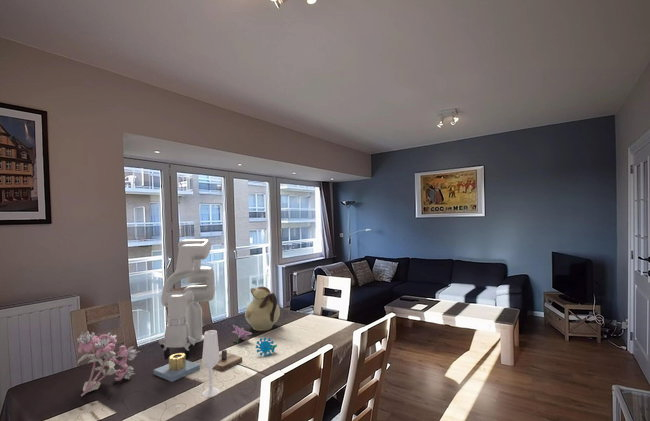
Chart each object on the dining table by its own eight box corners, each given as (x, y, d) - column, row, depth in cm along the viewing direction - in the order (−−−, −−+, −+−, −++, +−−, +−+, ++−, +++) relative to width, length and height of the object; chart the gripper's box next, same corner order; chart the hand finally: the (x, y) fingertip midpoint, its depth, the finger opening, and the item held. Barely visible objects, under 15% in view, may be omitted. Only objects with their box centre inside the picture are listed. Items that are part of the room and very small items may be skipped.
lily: (253, 345, 181) (256, 327, 186) (235, 341, 174) (238, 323, 179) (241, 346, 188) (244, 329, 193) (224, 343, 181) (227, 326, 186)
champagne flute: (202, 398, 124) (202, 335, 125) (201, 390, 130) (201, 330, 131) (220, 394, 126) (220, 333, 127) (218, 386, 133) (218, 328, 134)
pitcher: (252, 321, 220) (252, 285, 221) (285, 322, 217) (285, 285, 217) (239, 333, 198) (239, 292, 198) (276, 334, 194) (276, 293, 195)
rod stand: (205, 365, 153) (205, 352, 153) (225, 356, 163) (225, 344, 164) (222, 371, 147) (222, 357, 147) (242, 361, 157) (242, 348, 157)
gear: (255, 355, 160) (256, 336, 167) (253, 360, 163) (254, 341, 170) (277, 355, 163) (276, 336, 170) (275, 360, 167) (274, 341, 174)
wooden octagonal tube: (166, 370, 144) (166, 359, 144) (174, 363, 151) (174, 353, 151) (180, 370, 144) (180, 359, 144) (187, 363, 150) (187, 353, 151)
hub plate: (153, 374, 145) (153, 359, 145) (181, 362, 157) (181, 349, 157) (171, 381, 137) (171, 366, 138) (199, 369, 149) (199, 354, 149)
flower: (118, 397, 123) (137, 328, 135) (53, 397, 119) (78, 327, 131) (135, 395, 140) (150, 335, 152) (79, 395, 137) (99, 333, 149)
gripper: (154, 323, 145) (154, 361, 144) (191, 323, 144) (192, 362, 144) (163, 318, 152) (163, 354, 152) (199, 318, 151) (199, 354, 151)
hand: (177, 358), depth 148 cm, fingers open, 9 cm apart
